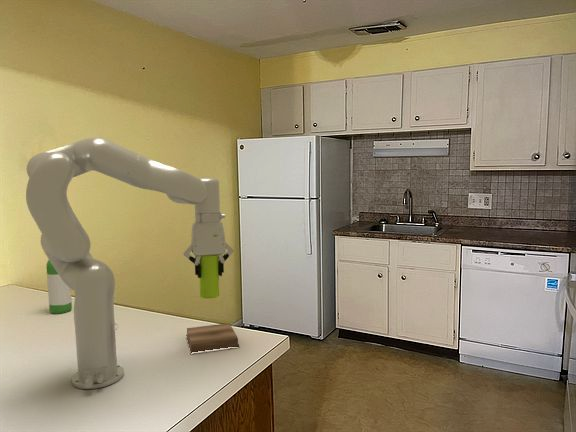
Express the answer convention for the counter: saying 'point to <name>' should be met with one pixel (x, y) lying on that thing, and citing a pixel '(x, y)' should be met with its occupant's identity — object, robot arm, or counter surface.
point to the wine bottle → (57, 292)
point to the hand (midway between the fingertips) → (209, 275)
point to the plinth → (211, 337)
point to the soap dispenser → (209, 276)
